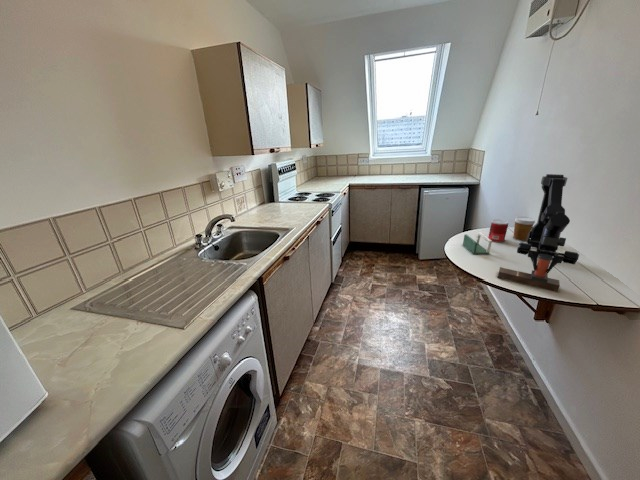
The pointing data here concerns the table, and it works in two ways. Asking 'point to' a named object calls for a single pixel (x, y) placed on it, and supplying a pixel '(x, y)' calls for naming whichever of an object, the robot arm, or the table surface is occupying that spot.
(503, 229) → the canned food
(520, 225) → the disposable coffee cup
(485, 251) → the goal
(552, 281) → the rail
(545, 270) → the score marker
